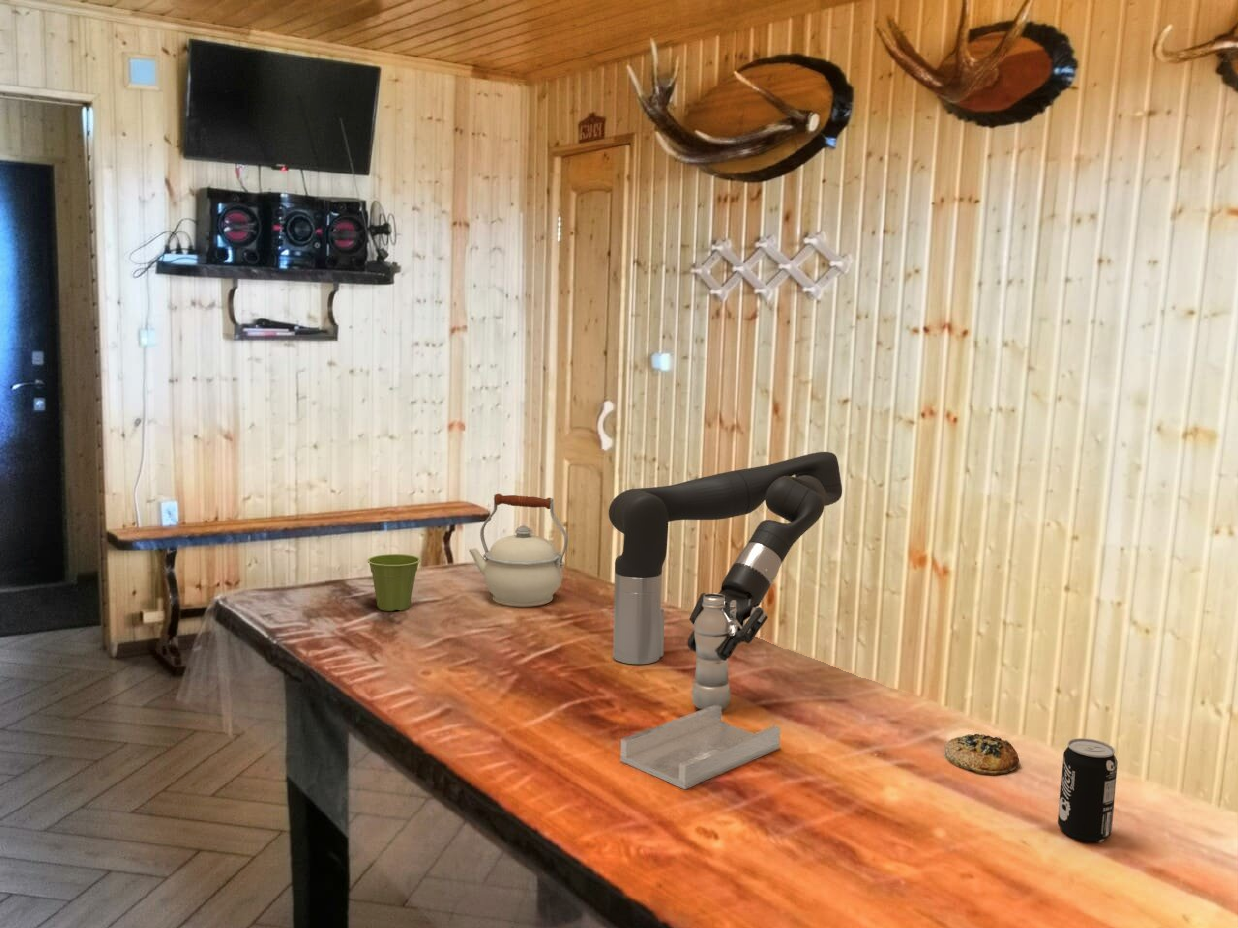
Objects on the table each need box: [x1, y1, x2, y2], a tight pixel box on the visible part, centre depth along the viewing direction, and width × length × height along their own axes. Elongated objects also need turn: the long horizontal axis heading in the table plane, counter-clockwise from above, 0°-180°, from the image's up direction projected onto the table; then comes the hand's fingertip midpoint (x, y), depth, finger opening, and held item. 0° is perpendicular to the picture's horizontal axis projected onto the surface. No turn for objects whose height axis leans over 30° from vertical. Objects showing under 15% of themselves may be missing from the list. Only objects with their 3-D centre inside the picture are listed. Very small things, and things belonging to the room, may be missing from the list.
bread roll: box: [943, 733, 1020, 776], centre depth 165 cm, size 11×11×5 cm
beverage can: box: [1057, 738, 1119, 843], centre depth 142 cm, size 7×7×12 cm
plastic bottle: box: [691, 592, 732, 711], centre depth 184 cm, size 6×7×20 cm
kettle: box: [468, 493, 569, 608], centre depth 253 cm, size 25×18×25 cm
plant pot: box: [366, 553, 421, 612], centre depth 244 cm, size 12×12×11 cm
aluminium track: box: [619, 705, 781, 790], centre depth 166 cm, size 22×13×4 cm, turn 134°
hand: (705, 652), depth 183 cm, fingers closed on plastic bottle, 6 cm apart
